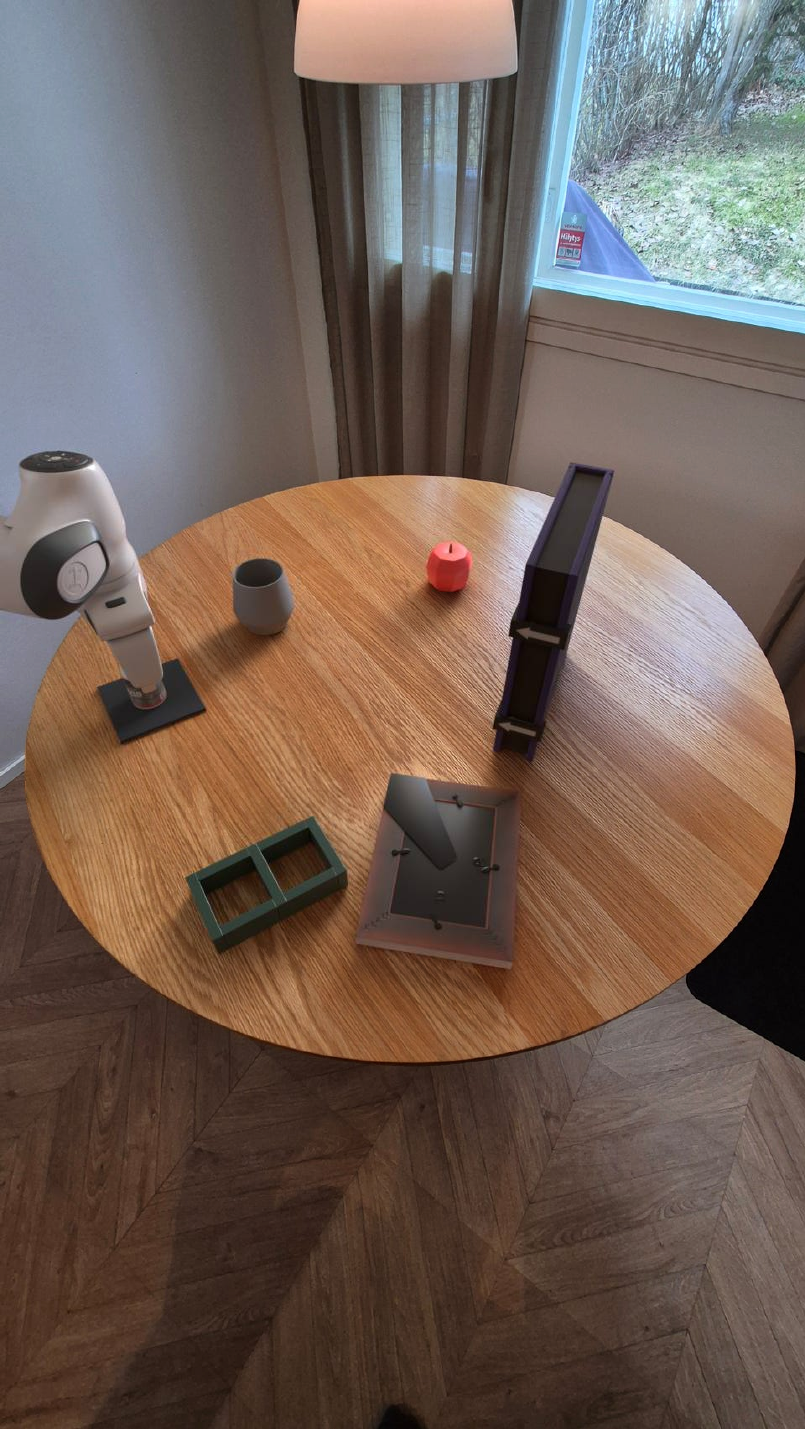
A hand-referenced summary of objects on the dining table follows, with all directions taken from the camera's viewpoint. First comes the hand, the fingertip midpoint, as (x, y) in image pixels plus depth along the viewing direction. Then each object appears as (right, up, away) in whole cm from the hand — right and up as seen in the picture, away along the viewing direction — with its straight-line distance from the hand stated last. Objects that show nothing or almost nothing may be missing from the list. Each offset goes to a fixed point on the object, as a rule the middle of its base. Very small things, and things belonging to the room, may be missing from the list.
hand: (138, 667), depth 90 cm
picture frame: (+41, -24, -13) cm, 49 cm away
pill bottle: (0, -4, +4) cm, 6 cm away
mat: (0, -4, +5) cm, 6 cm away
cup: (+14, +8, +16) cm, 23 cm away
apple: (+44, +16, +24) cm, 52 cm away
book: (+55, -4, +6) cm, 55 cm away
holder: (+21, -26, -15) cm, 37 cm away
